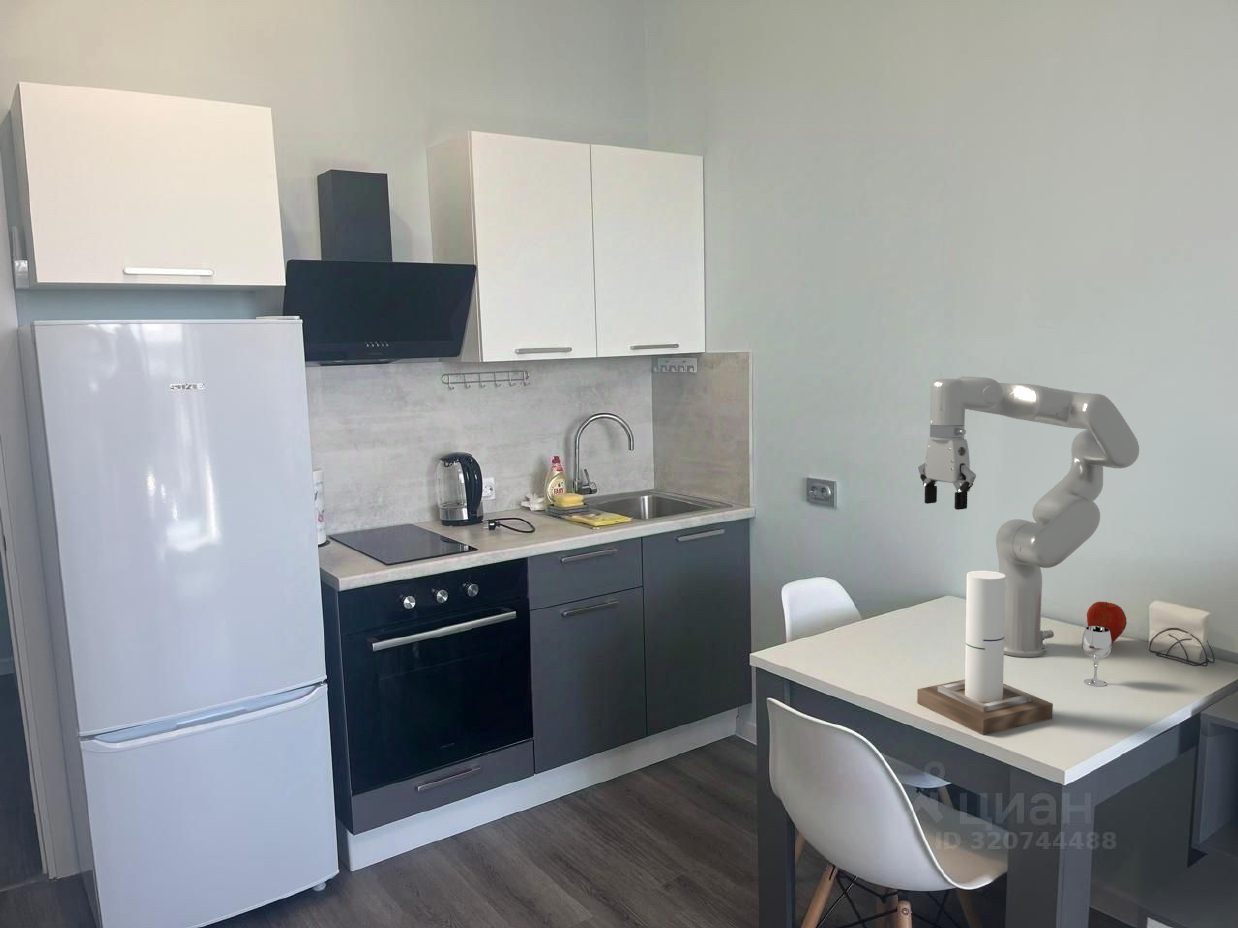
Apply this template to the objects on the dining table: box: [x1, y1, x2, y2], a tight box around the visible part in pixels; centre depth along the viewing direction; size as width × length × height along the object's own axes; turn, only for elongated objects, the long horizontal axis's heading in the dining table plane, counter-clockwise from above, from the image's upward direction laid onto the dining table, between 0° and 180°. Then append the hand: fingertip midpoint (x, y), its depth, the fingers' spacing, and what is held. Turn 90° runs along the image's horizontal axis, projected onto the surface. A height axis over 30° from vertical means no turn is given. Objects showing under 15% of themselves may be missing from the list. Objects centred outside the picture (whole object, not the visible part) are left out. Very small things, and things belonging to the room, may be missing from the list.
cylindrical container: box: [964, 570, 1005, 702], centre depth 187 cm, size 7×7×25 cm
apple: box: [1086, 601, 1128, 644], centre depth 228 cm, size 9×8×11 cm
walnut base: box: [916, 678, 1054, 736], centre depth 189 cm, size 18×18×4 cm
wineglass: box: [1081, 625, 1113, 687], centre depth 202 cm, size 6×6×12 cm
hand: (945, 505), depth 217 cm, fingers open, 9 cm apart
